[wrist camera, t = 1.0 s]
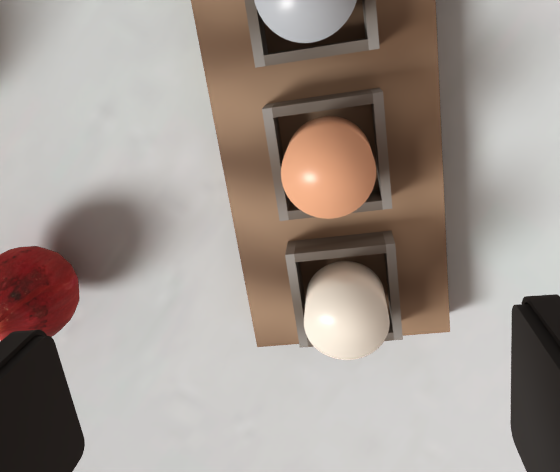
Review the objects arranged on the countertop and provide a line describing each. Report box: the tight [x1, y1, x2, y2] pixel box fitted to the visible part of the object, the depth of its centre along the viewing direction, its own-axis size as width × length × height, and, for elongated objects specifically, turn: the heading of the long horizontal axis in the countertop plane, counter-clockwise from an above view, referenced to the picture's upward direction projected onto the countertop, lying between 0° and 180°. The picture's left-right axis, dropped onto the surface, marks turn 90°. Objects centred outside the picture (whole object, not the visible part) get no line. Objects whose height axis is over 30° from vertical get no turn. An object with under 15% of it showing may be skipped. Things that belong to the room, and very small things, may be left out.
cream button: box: [304, 261, 390, 360], centre depth 29 cm, size 4×4×3 cm
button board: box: [191, 0, 450, 347], centre depth 29 cm, size 24×12×4 cm, turn 9°
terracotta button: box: [281, 116, 376, 219], centre depth 26 cm, size 4×4×3 cm
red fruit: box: [0, 246, 79, 341], centre depth 32 cm, size 6×6×8 cm
